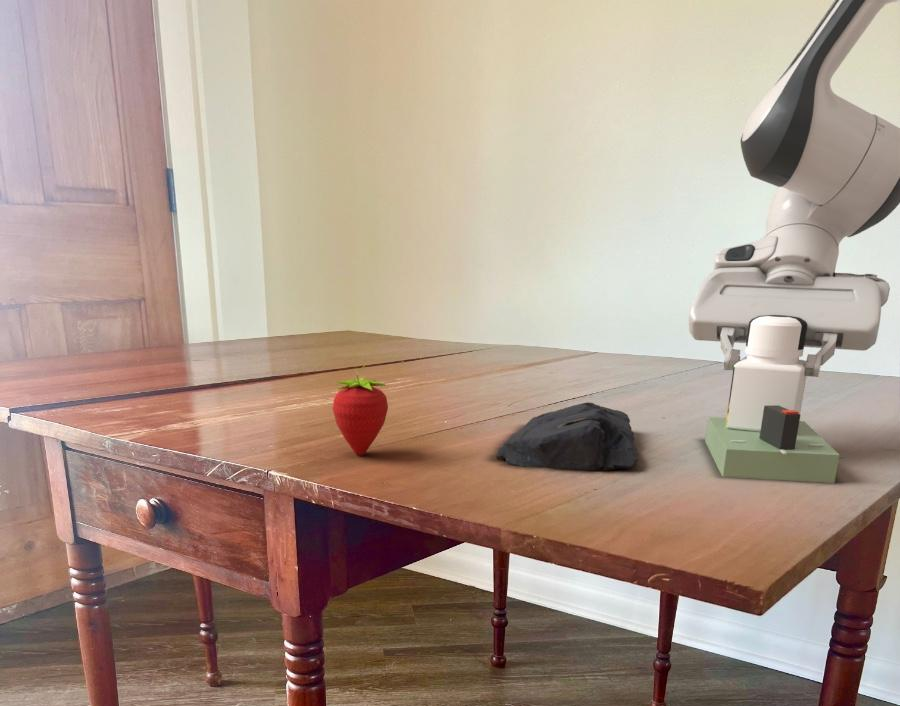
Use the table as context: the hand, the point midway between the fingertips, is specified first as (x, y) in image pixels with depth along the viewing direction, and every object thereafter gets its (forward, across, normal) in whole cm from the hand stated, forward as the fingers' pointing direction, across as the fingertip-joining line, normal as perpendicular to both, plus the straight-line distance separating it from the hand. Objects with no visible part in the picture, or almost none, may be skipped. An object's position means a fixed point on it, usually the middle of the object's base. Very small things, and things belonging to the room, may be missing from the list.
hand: (769, 370), depth 95 cm
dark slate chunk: (+12, +20, -2) cm, 23 cm away
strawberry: (+23, +39, +9) cm, 46 cm away
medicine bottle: (+4, 0, -5) cm, 7 cm away
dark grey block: (+10, -3, +1) cm, 11 cm away
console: (+9, -1, -4) cm, 10 cm away
